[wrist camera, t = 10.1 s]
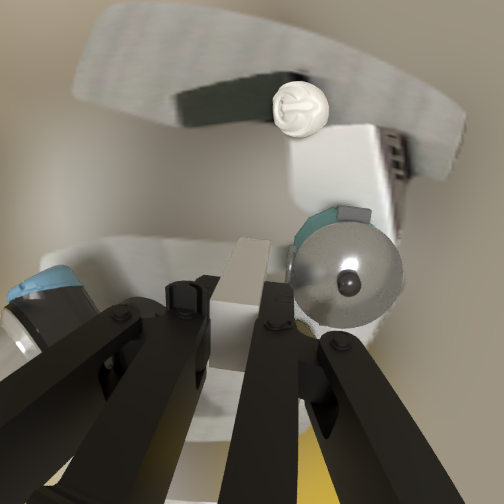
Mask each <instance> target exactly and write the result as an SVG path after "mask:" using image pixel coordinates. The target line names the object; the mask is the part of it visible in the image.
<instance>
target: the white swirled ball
mask: <svg viewBox="0 0 504 504" xmlns="http://www.w3.org/2000/svg"><path fill="white" fill-rule="evenodd" d="M273 115H274V120H275V124H276V125H277V126H278V127H279V128H280V129H281V131H282V132H283V133H284V134H286V135H289V136H292V137H297V138H303V137H306V136H309V135H312V134H314V133H316V132H317V131H319V130H320V129H321V128H322V127H323V126H324V125H325V124H326V123H327V120H328V116H329V105H328V102H327V99H326V97H325V95H324V94H323V92H322V91H321V90H320V89H318V88H317V87H316V86H314V85H312V84H310V83H307V82H303V81H296V82H290V83H287V84H284V85H283V86H281V87H280V89H279V90H278V92H277V93H276V94H275V96H274V98H273Z"/></svg>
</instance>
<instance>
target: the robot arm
mask: <svg viewBox="0 0 504 504" xmlns="http://www.w3.org/2000/svg"><path fill="white" fill-rule="evenodd" d="M269 248H270V240H263V239H253V238H243V237H240V239H239V241H238V243H237V245H236V247H235V249H234V251H233V253H232V255H231V257H230V259H229V261H228V263H227V265H226V267H225V269H224V271H223V274H222V276H221V277H217V276H209V275H203V276H201V277H199V278H198V279H196V280H195V282H193V281H177V282H173V283H171V284H169V285H167V286H166V287H165V291H166V308H165V307H164V306H162V305H161V304H159V303H157V302H155V301H153V300H150V299H147V298H140V297H136V298H130V299H127V300H125V301H123V302H122V303H121V304H119V305H115V306H112V307H109V308H107V309H106V310H104V311H103V312H101V313H100V312H99V310H98V309H97V307H96V306H95V304H94V303H93V301H92V299H91V298H90V296H89V295H88V293H87V292H86V290H85V289H84V285H83V284H82V283H80V281H79V280H78V279H77V277H76V276H75V274H74V273H73V271H72V270H71V269H70V268H69V267H68V266H66V265H57V266H54V267H51V268H48V269H46V270H44V271H42V272H40V273H38V274H36V275H34V276H32V277H30V278H28V279H27V280H25V281H24V282H23V283H20V284H19V285H17V286H15V287H14V288H12V289H11V290H10V291H9V292H8V293H7V301H8V302H9V304H8V305H7V306H5V307H4V308H3V309H2V310H1V317H0V504H25V503H26V504H164V502H165V499H166V496H167V493H168V489H169V487H170V484H171V481H172V478H173V475H174V472H175V469H176V466H177V463H178V460H179V456H180V454H181V451H182V448H183V445H184V442H185V439H186V436H187V433H188V430H189V427H190V424H191V421H192V418H193V415H194V412H195V409H196V406H197V403H198V400H199V397H200V394H201V391H202V388H203V385H204V382H205V379H206V365H207V362H208V359H209V367H213V368H219V369H226V370H233V371H240V372H245V374H244V379H243V384H242V389H241V394H240V399H239V404H238V409H237V414H236V419H235V424H234V428H233V433H232V438H231V443H230V448H229V452H228V457H227V462H226V467H225V471H224V476H223V481H222V485H221V490H220V494H219V499H218V503H217V504H297V478H298V398H300V399H303V400H304V402H305V407H306V410H307V413H308V416H309V418H310V421H311V424H312V427H313V429H314V432H315V435H316V438H317V441H318V443H319V446H320V449H321V452H322V454H323V457H324V460H325V463H326V466H327V468H328V471H329V474H330V477H331V480H332V482H333V485H334V488H335V491H336V493H337V496H338V499H339V502H340V504H465V502H464V501H463V499H462V497H461V496H460V494H459V492H458V490H457V489H456V487H455V485H454V484H453V482H452V480H451V479H450V477H449V476H448V474H447V472H446V471H445V469H444V467H443V466H442V464H441V462H440V461H439V460H438V458H437V456H436V454H435V453H434V451H433V450H432V448H431V446H430V445H429V443H428V442H427V440H426V438H425V437H424V435H423V434H422V432H421V431H420V429H419V427H418V426H417V424H416V423H415V421H414V420H413V418H412V417H411V415H410V414H409V412H408V410H407V409H406V407H405V406H404V404H403V403H402V401H401V400H400V398H399V397H398V395H397V394H396V392H395V391H394V389H393V388H392V386H391V385H390V383H389V382H388V380H387V379H386V377H385V376H384V374H383V373H382V371H381V370H380V368H379V367H378V365H377V364H376V363H375V361H374V360H373V358H372V357H371V355H370V354H369V352H368V351H367V349H366V348H365V346H364V345H363V344H362V342H361V341H360V340H359V339H358V338H357V337H356V336H354V335H352V334H350V333H348V332H344V331H330V332H326V333H325V334H323V335H322V336H321V338H320V340H319V339H315V338H312V337H309V336H307V335H305V334H303V333H301V332H300V331H299V330H298V329H297V325H296V322H295V321H294V290H293V289H292V287H291V286H290V285H289V284H286V283H276V282H268V281H266V276H267V267H268V258H269ZM73 456H74V457H73ZM72 457H73V458H72ZM71 458H72V460H71V462H70V463H69V465H68V467H67V469H66V470H65V472H64V474H63V475H62V477H61V479H60V480H59V481H58V483H57V484H55V485H53V486H43V485H44V484H45V483H46V482H47V481H48V480H49V479H50V478H51V477H52V476H53V475H54V474H56V473H57V471H58V470H59V469H61V468H62V467H63V465H65V464H66V462H68V460H70V459H71Z"/></svg>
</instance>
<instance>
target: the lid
mask: <svg viewBox="0 0 504 504" xmlns="http://www.w3.org/2000/svg"><path fill="white" fill-rule="evenodd" d="M402 279H403V268H402V262H401V258H400V255H399V253H398V251H397V249H396V247H395V245H394V244H393V243H392V241H391V240H390V239H389V238H388V237H387V236H386V235H385V234H384V233H383V232H381V231H380V230H379V229H377V228H375V227H373V226H371V225H368V224H365V223H361V222H355V221H343V222H337V223H333V224H330V225H327V226H325V227H323V228H321V229H319V230H317V231H316V232H314V233H313V234H312V235H311V236H309V237H308V238H307V239H306V240H305V241H304V243H303V244H302V245H301V247H300V248H299V249H298V251H297V253H296V255H295V253H294V252H288V258H287V267H286V275H285V283H286V284H289V285H290V286H291V287H292V289H293V290H294V298H295V300H296V302H297V304H298V305H299V307H300V308H301V309H302V311H303V312H304V313H305V314H306V315H307V316H309V317H310V318H311V319H313V320H314V321H316V322H318V323H320V324H322V325H325V326H328V327H333V328H342V329H346V328H355V327H359V326H363V325H366V324H368V323H370V322H372V321H374V320H376V319H377V318H379V317H380V316H381V315H383V314H384V313H385V312H386V311H387V310H388V309H389V308H390V306H391V305H392V304H393V302H394V301H395V299H396V297H397V295H398V293H399V291H400V288H401V284H402Z"/></svg>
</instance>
